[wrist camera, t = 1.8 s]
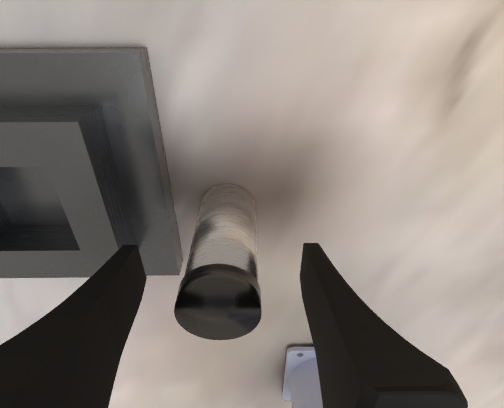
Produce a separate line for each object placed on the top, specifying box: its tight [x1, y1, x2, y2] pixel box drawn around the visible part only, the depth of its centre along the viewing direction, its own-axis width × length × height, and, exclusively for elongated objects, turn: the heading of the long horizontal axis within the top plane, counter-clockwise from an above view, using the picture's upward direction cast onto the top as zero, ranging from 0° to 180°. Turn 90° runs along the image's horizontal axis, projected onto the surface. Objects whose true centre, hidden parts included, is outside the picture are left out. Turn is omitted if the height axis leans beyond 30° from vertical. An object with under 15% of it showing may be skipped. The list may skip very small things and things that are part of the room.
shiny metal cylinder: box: [174, 184, 261, 340], centre depth 15 cm, size 3×3×7 cm
